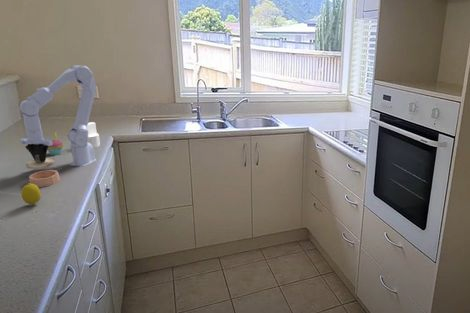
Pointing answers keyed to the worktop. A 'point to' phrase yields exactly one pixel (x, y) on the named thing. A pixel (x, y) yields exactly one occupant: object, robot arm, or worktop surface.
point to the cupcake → (55, 147)
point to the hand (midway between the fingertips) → (40, 160)
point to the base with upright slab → (93, 135)
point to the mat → (40, 170)
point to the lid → (40, 163)
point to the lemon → (30, 193)
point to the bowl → (44, 178)
